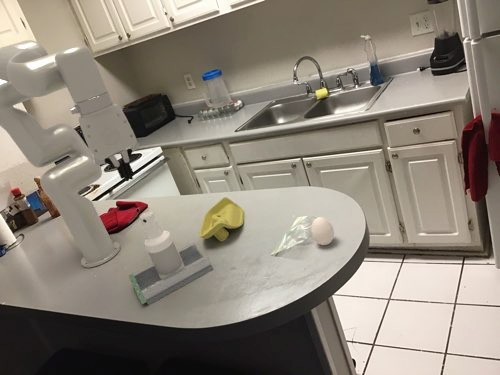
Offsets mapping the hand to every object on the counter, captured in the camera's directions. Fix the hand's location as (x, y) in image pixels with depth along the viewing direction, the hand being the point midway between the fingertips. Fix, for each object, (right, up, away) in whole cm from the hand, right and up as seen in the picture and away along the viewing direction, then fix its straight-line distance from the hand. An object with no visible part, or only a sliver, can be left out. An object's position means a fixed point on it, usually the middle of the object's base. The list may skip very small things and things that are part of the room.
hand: (128, 178), depth 102 cm
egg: (+47, -16, +3) cm, 50 cm away
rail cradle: (+9, -25, +11) cm, 29 cm away
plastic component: (+21, -15, +27) cm, 37 cm away
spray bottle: (+9, -25, +11) cm, 28 cm away
